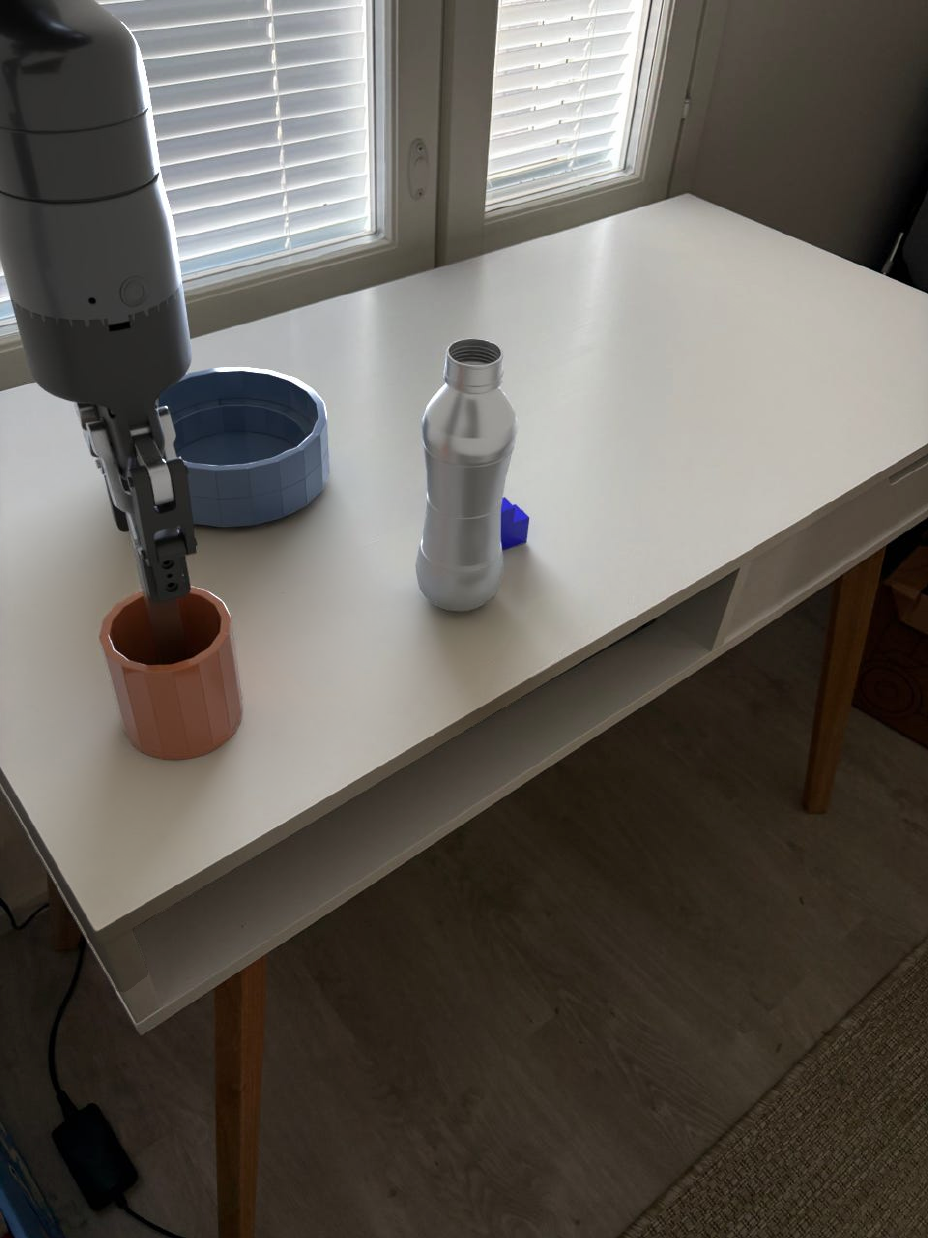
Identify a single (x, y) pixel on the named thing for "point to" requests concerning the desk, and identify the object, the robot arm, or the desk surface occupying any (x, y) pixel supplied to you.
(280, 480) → the bowl
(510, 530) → the cable holder
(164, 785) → the desk surface
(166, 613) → the disc-ended square rod
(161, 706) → the crock
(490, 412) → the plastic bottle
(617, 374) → the desk surface
